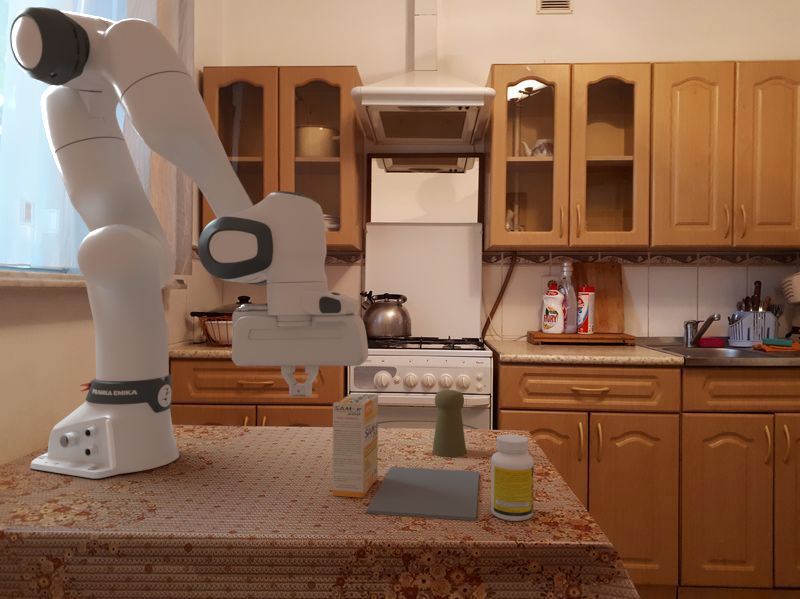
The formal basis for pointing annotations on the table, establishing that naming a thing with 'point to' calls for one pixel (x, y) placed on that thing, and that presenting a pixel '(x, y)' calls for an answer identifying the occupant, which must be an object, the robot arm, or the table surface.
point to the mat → (427, 493)
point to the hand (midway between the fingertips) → (300, 396)
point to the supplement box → (355, 444)
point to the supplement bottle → (512, 479)
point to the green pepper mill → (449, 425)
